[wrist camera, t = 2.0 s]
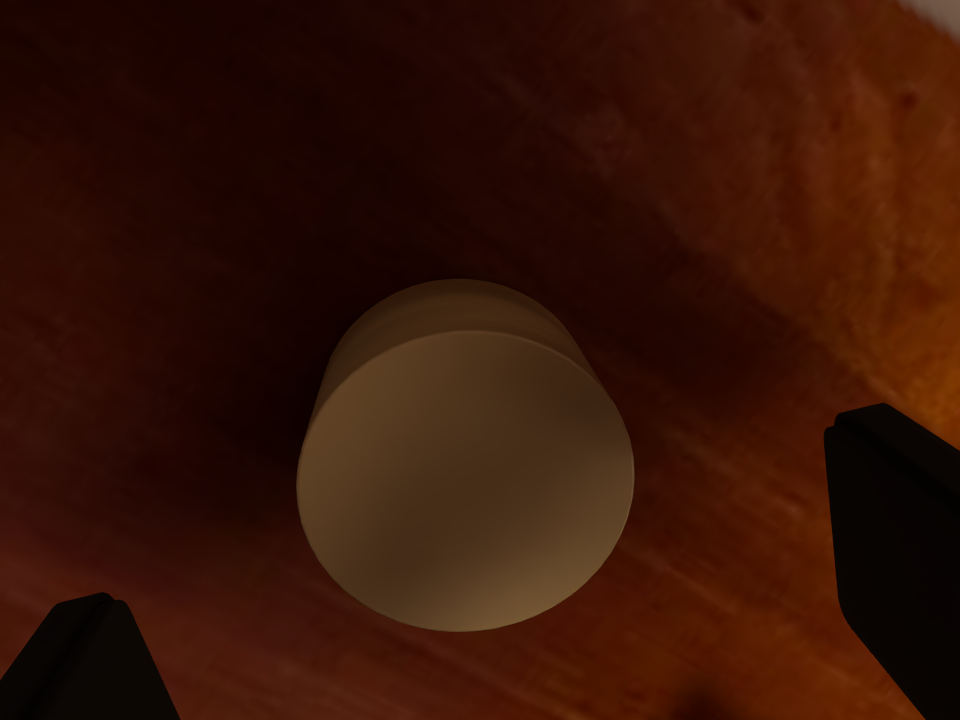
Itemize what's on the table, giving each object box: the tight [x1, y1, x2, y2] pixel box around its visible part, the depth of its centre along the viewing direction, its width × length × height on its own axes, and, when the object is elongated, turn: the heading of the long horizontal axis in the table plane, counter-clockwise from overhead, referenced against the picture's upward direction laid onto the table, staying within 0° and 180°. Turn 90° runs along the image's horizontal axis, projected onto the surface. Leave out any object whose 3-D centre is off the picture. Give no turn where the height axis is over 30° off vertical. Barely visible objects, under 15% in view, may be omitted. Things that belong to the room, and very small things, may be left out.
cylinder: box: [296, 279, 635, 632], centre depth 13 cm, size 5×5×3 cm
